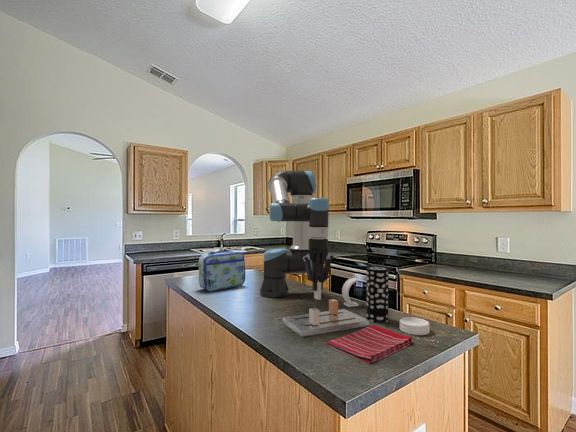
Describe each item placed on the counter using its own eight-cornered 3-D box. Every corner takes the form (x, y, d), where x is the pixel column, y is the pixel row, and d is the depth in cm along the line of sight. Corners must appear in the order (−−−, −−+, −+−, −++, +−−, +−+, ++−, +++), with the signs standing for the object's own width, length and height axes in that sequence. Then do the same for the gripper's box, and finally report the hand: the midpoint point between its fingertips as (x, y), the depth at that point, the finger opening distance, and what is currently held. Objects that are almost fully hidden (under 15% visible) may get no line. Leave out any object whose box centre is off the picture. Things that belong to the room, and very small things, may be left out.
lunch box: (204, 293, 166) (204, 253, 166) (196, 289, 174) (196, 251, 174) (247, 287, 182) (247, 250, 182) (237, 283, 190) (237, 249, 191)
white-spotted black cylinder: (373, 314, 131) (373, 266, 131) (392, 319, 125) (392, 268, 125) (362, 319, 125) (362, 268, 125) (381, 324, 119) (381, 270, 119)
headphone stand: (358, 306, 144) (358, 279, 144) (346, 307, 142) (347, 280, 142) (353, 303, 148) (353, 277, 148) (341, 304, 146) (341, 278, 146)
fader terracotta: (328, 312, 126) (328, 299, 126) (334, 311, 127) (334, 298, 127) (332, 314, 123) (333, 301, 123) (338, 313, 124) (338, 300, 124)
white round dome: (393, 329, 114) (393, 319, 114) (409, 324, 120) (409, 315, 120) (419, 338, 106) (419, 327, 106) (435, 332, 112) (435, 322, 112)
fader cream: (309, 322, 113) (309, 308, 113) (315, 321, 114) (315, 307, 114) (313, 325, 110) (313, 310, 110) (319, 324, 111) (319, 309, 111)
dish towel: (414, 345, 101) (415, 336, 101) (370, 366, 86) (370, 357, 86) (369, 330, 114) (369, 323, 114) (324, 347, 99) (324, 338, 99)
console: (282, 322, 120) (282, 316, 120) (344, 313, 132) (344, 308, 132) (301, 336, 106) (301, 330, 106) (369, 325, 117) (369, 320, 117)
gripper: (308, 239, 116) (307, 303, 117) (338, 238, 122) (337, 299, 122) (298, 237, 123) (298, 298, 124) (327, 236, 128) (326, 294, 129)
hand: (317, 298), depth 123 cm, fingers closed
